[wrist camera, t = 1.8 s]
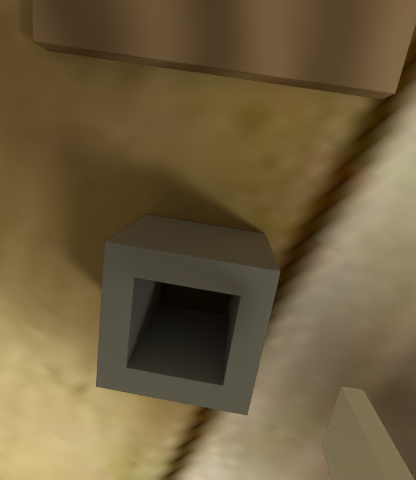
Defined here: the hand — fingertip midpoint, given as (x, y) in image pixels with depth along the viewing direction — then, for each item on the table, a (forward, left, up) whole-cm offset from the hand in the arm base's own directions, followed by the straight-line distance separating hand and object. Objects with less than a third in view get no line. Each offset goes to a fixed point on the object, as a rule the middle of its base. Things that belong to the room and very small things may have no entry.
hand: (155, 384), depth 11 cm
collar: (0, 0, -11) cm, 11 cm away
